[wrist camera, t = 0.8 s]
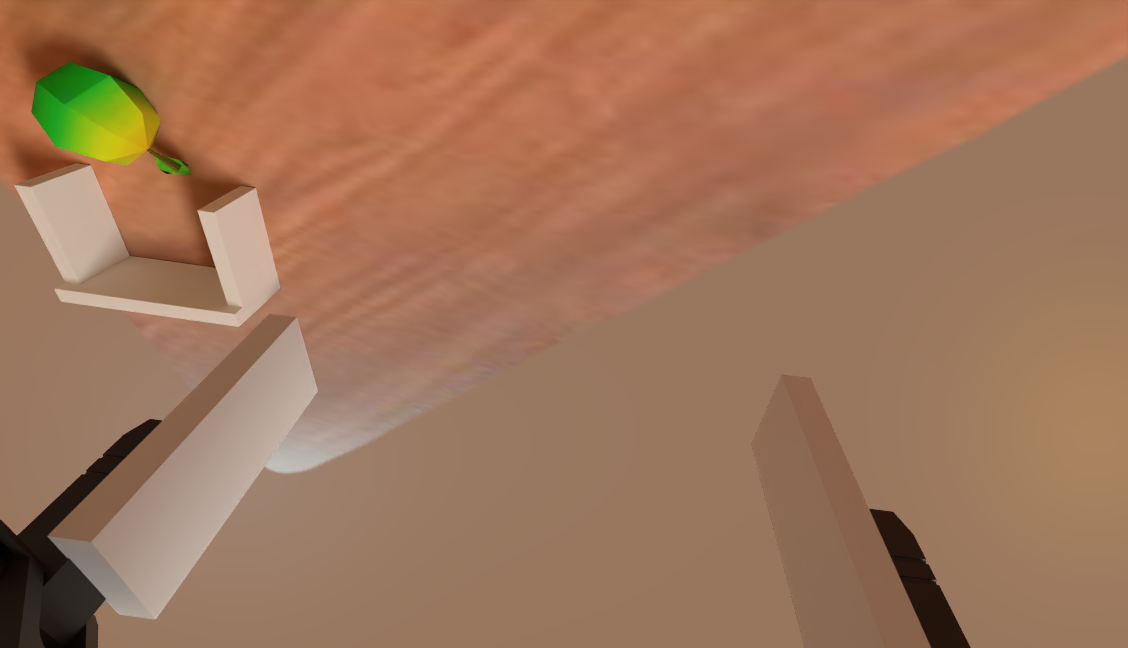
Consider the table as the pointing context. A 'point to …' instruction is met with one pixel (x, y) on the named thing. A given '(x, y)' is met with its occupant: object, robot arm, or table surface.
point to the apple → (99, 117)
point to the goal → (118, 281)
